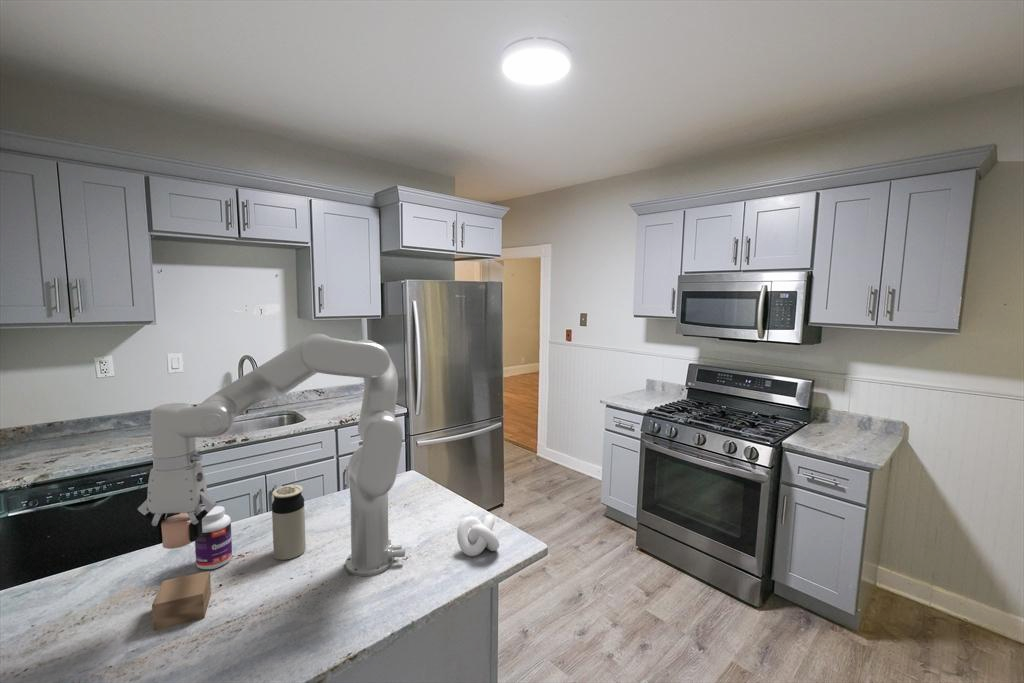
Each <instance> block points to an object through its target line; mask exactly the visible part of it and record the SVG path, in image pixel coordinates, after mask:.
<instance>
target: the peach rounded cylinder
mask: <svg viewBox="0 0 1024 683" xmlns="http://www.w3.org/2000/svg"><path fill="white" fill-rule="evenodd" d="M191 523H192V522H191V520H190V518H189V516H188V514H187V513H177V514H175V515H174V514H173V515H172V516H169V517H166V518H165V520H163V521H162V523H161V528H162V542H161V543H162V548H164V549H169V550H171V549H179V548H182V547H185V546H188V545H190V544H191V543H193V542H191V541H190V532H189V525H190V524H191Z"/></svg>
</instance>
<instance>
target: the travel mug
mask: <svg viewBox="0 0 1024 683" xmlns="http://www.w3.org/2000/svg"><path fill="white" fill-rule="evenodd" d="M303 490H304V488H303V486H301V485H299V484H287V485H284V486H283V485H282V486H280V487H277V488H276V489H274V490H273V491H272V497H273V501H272V503H271V517H272V520H271V521H272V543H273V544H272V545H273V546H272V547H273V548H272V549H273V557H274V558H275V559H277V560H291V559H295V558H297V557H299V556H301V555H302V554H303V553H304V552H305V551H306V550H307V549H306V548H307V547H306V546H307V543H306V518H305V498H304V497H303V495H302V492H303Z"/></svg>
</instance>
